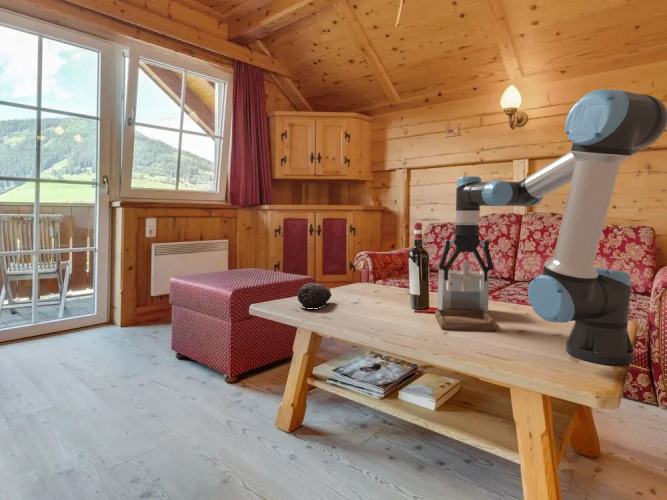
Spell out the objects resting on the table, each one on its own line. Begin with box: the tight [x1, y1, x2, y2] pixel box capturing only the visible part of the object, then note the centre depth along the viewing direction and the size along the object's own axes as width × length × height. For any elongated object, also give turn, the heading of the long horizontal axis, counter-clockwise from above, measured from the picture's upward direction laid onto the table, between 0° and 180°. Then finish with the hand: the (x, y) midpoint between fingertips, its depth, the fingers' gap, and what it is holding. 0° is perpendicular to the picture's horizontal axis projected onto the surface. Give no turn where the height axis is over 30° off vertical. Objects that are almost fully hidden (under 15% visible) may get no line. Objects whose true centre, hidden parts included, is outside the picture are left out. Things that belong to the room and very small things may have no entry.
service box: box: [437, 269, 490, 315], centre depth 153 cm, size 13×16×15 cm
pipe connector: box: [451, 260, 481, 292], centre depth 138 cm, size 10×10×10 cm
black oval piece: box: [296, 282, 332, 309], centre depth 164 cm, size 10×18×10 cm, turn 160°
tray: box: [434, 308, 498, 333], centre depth 139 cm, size 17×17×2 cm
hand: (464, 290), depth 138 cm, fingers closed on pipe connector, 10 cm apart
